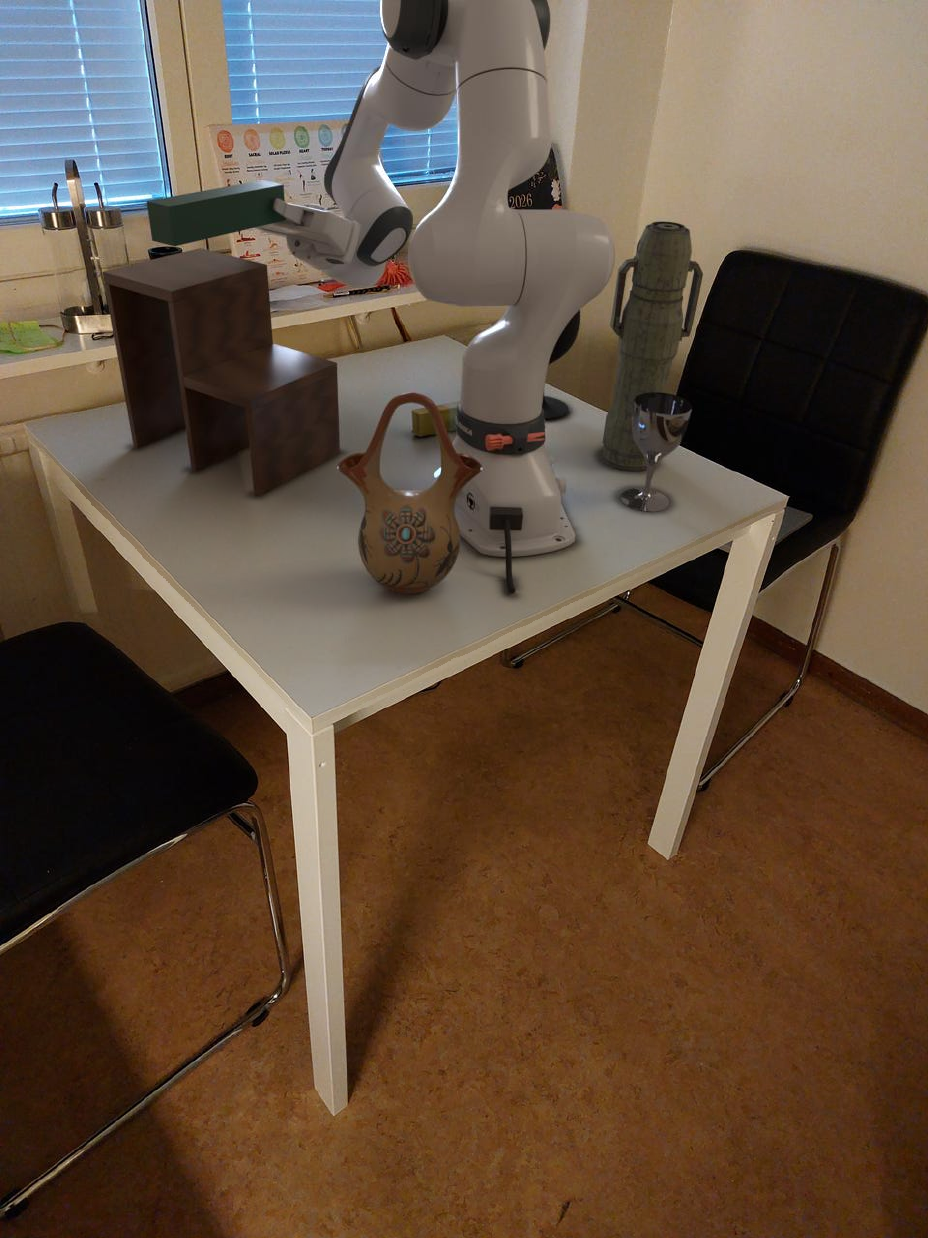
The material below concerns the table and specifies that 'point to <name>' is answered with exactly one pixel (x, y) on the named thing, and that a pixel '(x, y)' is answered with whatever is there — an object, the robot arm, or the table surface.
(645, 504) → the wine glass
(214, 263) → the step shelf
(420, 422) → the medication box
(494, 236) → the robot arm
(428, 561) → the ceramic vessel
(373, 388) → the table surface
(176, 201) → the carton
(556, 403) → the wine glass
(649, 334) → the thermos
